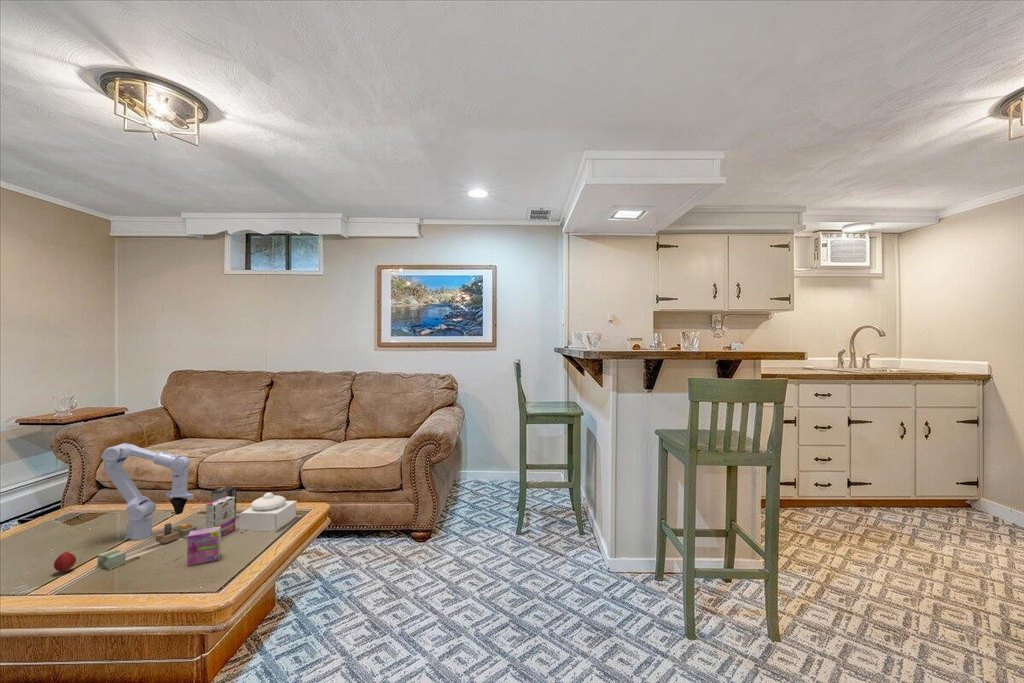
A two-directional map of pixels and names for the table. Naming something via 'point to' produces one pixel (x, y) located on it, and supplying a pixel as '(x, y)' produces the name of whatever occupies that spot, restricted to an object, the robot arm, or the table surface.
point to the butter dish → (267, 513)
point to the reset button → (184, 526)
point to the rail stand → (136, 551)
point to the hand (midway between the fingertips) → (178, 513)
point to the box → (203, 545)
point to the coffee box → (224, 494)
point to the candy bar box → (221, 515)
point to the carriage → (167, 534)
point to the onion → (64, 562)
